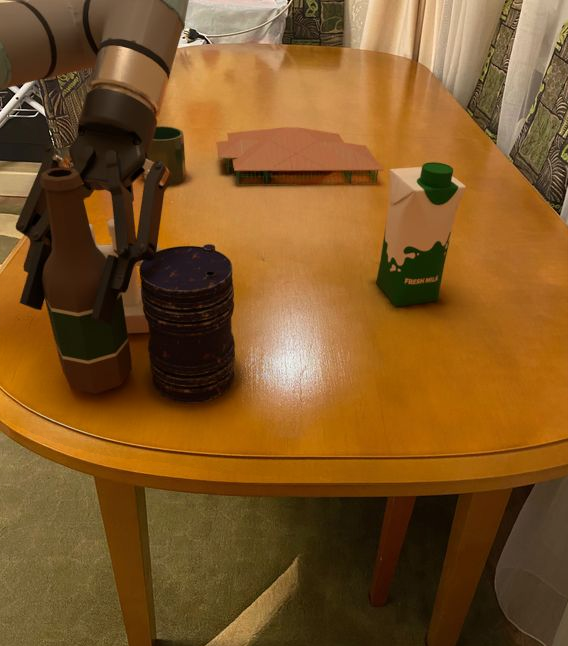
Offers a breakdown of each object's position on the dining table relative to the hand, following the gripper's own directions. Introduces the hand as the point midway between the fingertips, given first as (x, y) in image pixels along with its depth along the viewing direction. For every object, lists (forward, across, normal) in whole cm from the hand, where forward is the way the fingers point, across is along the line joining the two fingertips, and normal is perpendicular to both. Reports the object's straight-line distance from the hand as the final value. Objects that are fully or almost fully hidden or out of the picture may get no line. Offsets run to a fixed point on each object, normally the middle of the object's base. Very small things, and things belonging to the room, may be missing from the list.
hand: (65, 313), depth 61 cm
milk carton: (-17, -32, -34) cm, 50 cm away
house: (-49, -3, -66) cm, 82 cm away
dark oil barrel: (+3, -10, -14) cm, 17 cm away
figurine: (-3, +2, -20) cm, 20 cm away
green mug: (-37, +21, -54) cm, 69 cm away
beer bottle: (+5, 0, -10) cm, 11 cm away
